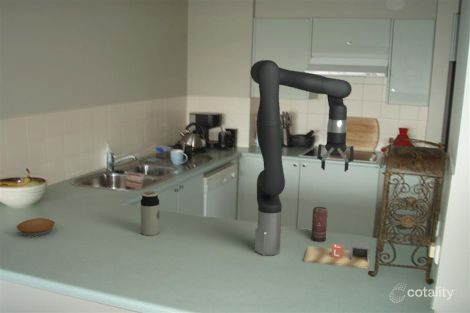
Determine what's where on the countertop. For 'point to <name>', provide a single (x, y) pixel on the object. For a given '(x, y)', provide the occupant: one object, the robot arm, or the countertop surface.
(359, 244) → the cover
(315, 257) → the board
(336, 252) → the letter cube
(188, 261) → the countertop surface
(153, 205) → the travel mug
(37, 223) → the pie
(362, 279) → the countertop surface
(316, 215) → the can
